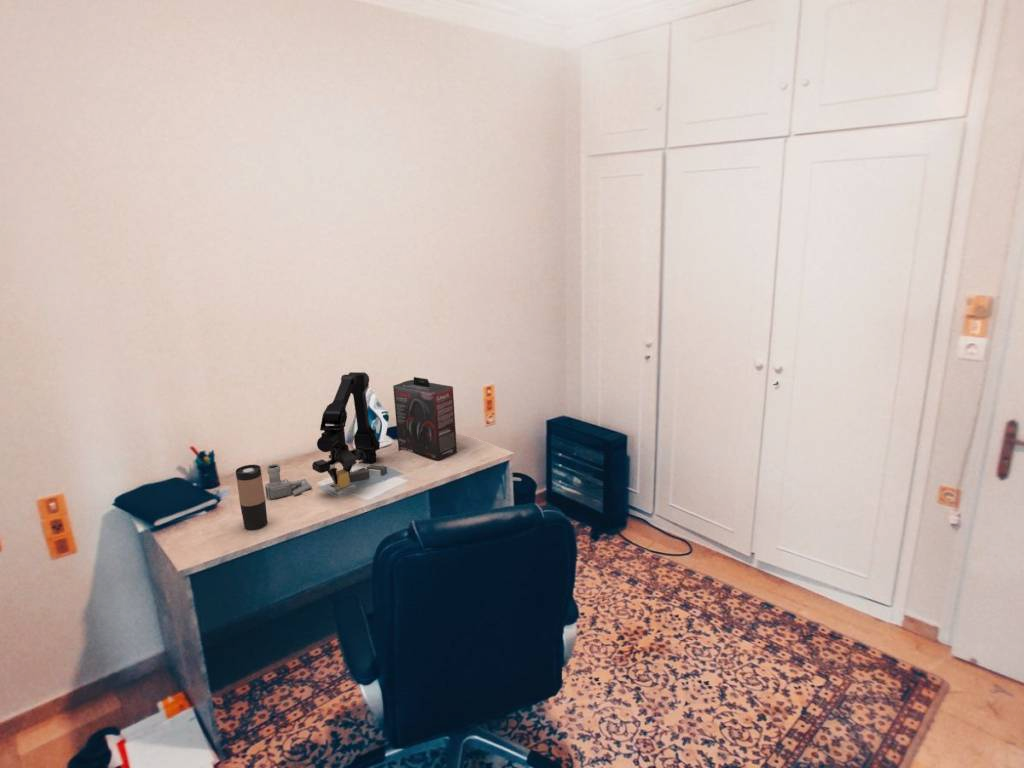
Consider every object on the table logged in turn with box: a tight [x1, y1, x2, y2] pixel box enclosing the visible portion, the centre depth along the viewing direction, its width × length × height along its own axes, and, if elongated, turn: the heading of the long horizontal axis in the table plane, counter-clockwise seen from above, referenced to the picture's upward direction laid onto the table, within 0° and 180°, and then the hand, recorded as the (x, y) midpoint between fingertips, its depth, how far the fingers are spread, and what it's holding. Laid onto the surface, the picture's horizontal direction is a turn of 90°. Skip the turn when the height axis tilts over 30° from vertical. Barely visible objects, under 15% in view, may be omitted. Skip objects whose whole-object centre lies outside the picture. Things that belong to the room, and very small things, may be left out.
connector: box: [334, 469, 350, 488], centre depth 226 cm, size 4×4×5 cm
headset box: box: [392, 376, 458, 461], centre depth 262 cm, size 25×12×33 cm, turn 53°
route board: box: [317, 464, 404, 499], centre depth 235 cm, size 14×29×4 cm, turn 136°
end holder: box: [326, 483, 356, 496], centre depth 227 cm, size 8×7×2 cm
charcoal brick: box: [349, 468, 369, 483], centre depth 236 cm, size 3×7×3 cm, turn 114°
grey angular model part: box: [264, 463, 312, 501], centre depth 227 cm, size 9×12×15 cm
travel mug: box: [235, 464, 268, 531], centre depth 201 cm, size 8×8×20 cm
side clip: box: [349, 467, 371, 483], centre depth 236 cm, size 5×10×2 cm, turn 136°
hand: (341, 482), depth 227 cm, fingers closed on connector, 4 cm apart
